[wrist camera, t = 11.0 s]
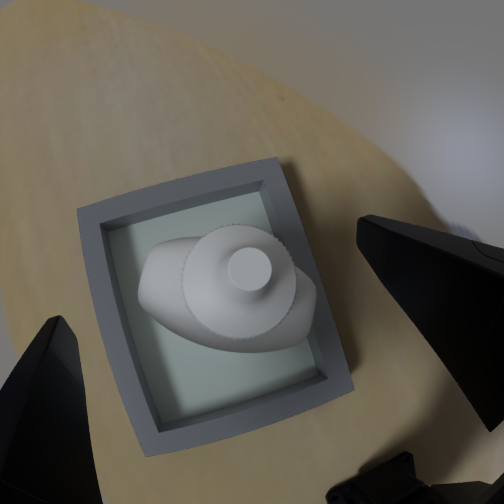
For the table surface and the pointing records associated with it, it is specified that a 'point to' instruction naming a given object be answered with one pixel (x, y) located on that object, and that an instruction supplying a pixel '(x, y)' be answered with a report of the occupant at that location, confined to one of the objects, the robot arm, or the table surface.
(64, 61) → the table surface
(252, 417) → the gray rectangular tray
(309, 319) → the eye dropper bottle
